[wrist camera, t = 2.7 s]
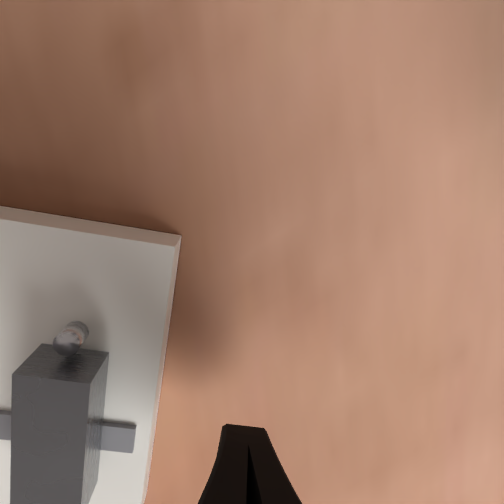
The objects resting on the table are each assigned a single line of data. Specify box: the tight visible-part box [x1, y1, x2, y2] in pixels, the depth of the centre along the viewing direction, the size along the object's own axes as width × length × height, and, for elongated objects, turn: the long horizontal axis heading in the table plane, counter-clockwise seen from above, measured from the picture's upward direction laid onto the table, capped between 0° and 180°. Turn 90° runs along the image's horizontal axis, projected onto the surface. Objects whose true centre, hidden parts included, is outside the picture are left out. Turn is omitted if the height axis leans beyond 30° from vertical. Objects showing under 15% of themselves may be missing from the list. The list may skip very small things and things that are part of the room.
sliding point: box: [10, 321, 109, 504], centre depth 11 cm, size 2×6×2 cm, turn 170°
